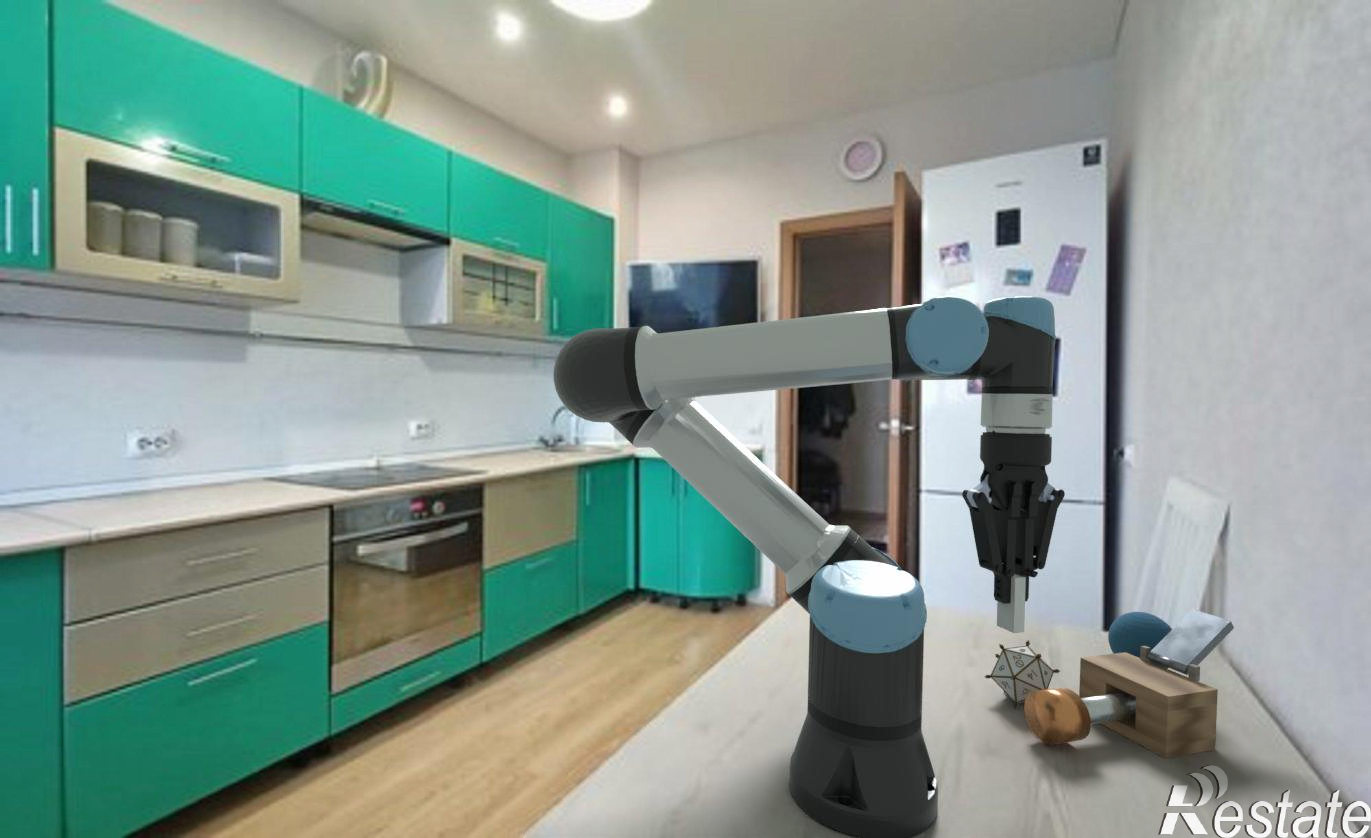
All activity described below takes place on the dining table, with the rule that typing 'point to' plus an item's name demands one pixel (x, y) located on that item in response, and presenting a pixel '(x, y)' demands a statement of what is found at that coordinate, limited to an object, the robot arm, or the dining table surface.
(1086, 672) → the hitch block
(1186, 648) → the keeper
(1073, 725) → the pin
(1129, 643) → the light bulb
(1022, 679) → the game die
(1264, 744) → the dining table surface
